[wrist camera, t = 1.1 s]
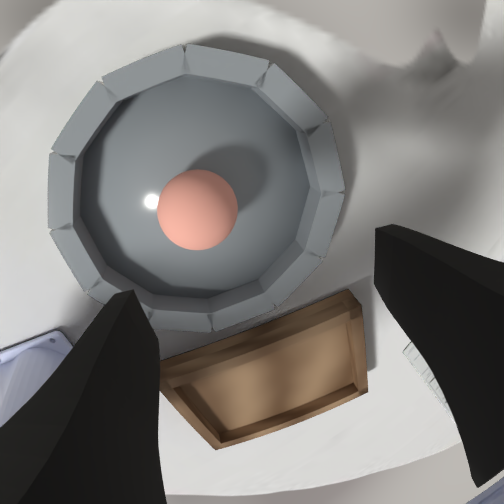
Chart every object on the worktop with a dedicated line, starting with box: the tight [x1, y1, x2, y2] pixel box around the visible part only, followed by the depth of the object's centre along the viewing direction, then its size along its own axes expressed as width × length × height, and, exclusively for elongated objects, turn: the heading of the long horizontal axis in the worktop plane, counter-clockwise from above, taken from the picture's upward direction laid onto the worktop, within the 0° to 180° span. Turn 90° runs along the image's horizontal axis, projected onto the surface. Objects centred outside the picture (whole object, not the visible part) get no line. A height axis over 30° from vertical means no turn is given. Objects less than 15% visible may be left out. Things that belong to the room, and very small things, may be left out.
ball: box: [157, 169, 238, 250], centre depth 16 cm, size 4×4×4 cm
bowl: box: [48, 44, 345, 333], centre depth 17 cm, size 16×16×2 cm
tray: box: [160, 289, 368, 450], centre depth 26 cm, size 16×12×2 cm
